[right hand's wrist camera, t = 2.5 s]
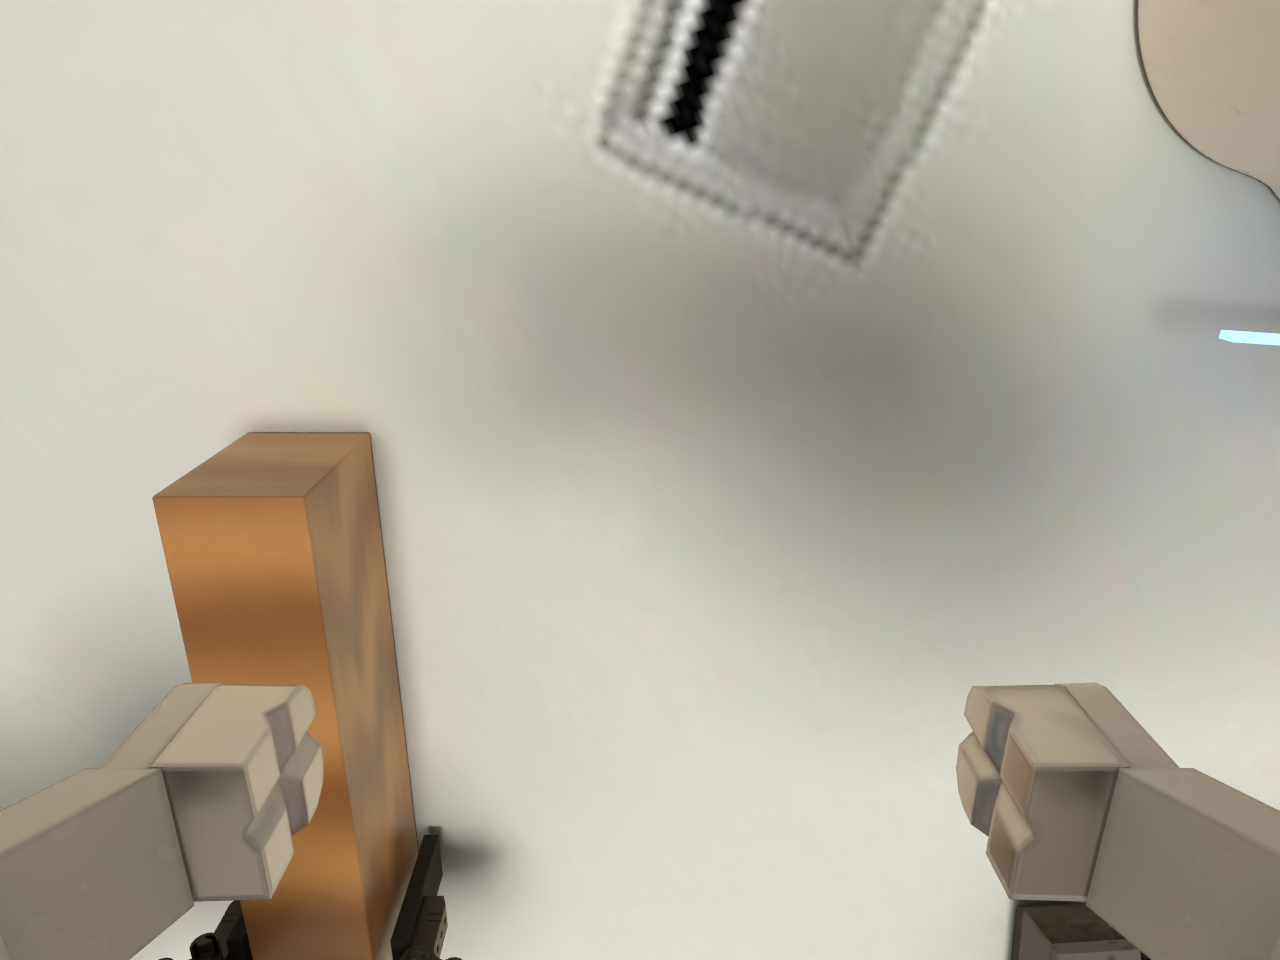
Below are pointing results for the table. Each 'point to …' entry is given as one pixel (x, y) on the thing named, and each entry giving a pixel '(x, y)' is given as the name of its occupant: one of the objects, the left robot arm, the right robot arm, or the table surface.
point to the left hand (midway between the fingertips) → (363, 855)
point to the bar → (305, 666)
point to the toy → (1067, 935)
